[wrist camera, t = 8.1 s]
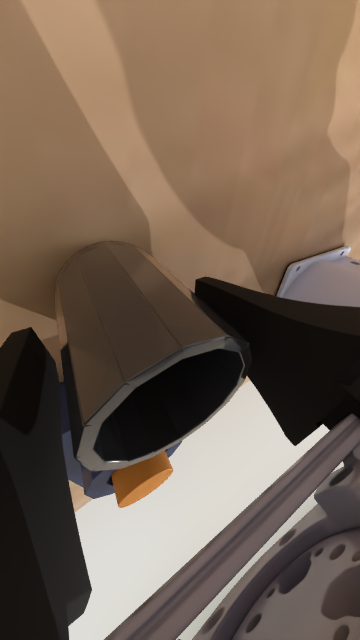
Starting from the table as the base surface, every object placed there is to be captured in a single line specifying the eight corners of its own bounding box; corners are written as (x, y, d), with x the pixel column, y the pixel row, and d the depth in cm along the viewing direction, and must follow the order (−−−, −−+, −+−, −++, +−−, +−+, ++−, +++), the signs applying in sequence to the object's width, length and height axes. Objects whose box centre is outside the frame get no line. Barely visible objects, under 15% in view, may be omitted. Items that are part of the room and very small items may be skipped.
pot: (158, 231, 9) (275, 307, 5) (164, 317, 13) (234, 407, 8) (29, 252, 7) (19, 418, 3) (79, 347, 11) (110, 487, 6)
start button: (160, 434, 13) (172, 463, 11) (163, 451, 15) (173, 476, 14) (104, 468, 11) (111, 504, 10) (117, 480, 14) (124, 511, 12)
